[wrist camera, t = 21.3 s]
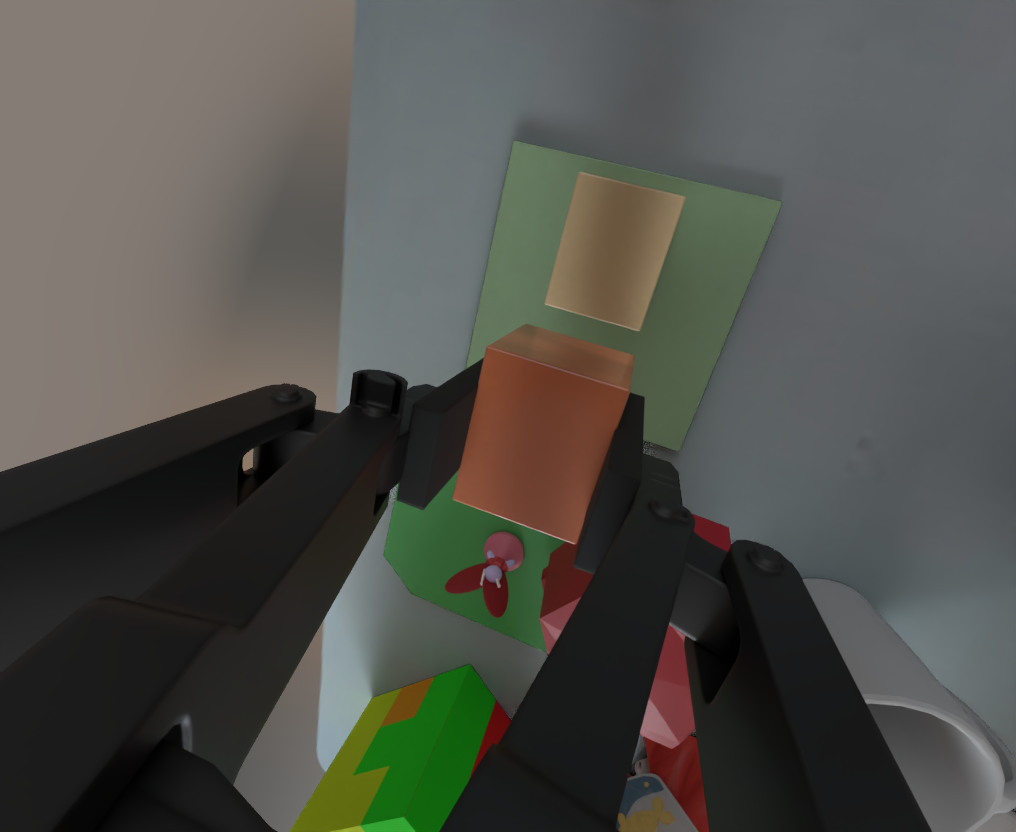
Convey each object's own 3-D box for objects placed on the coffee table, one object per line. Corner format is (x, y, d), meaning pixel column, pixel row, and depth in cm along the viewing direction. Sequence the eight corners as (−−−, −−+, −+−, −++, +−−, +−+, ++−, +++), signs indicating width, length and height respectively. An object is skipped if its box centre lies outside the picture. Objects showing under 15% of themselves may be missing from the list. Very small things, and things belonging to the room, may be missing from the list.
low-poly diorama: (662, 700, 31) (667, 866, 22) (379, 576, 34) (293, 682, 25) (774, 506, 25) (835, 633, 17) (421, 378, 28) (327, 433, 20)
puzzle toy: (444, 791, 39) (381, 956, 30) (371, 698, 38) (283, 840, 29) (546, 769, 35) (510, 951, 26) (470, 664, 34) (403, 816, 25)
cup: (768, 539, 25) (821, 668, 18) (980, 608, 24) (1141, 783, 16) (714, 645, 28) (740, 796, 21) (900, 713, 27) (1004, 905, 19)
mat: (465, 380, 27) (462, 382, 27) (515, 142, 23) (513, 139, 22) (678, 448, 25) (679, 452, 25) (780, 202, 21) (783, 201, 20)
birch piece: (561, 294, 24) (543, 304, 20) (591, 185, 22) (578, 170, 18) (641, 317, 23) (640, 332, 19) (679, 206, 21) (687, 196, 17)
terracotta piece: (493, 446, 19) (451, 500, 15) (524, 322, 17) (485, 345, 13) (592, 480, 18) (576, 546, 14) (635, 355, 17) (631, 389, 12)
